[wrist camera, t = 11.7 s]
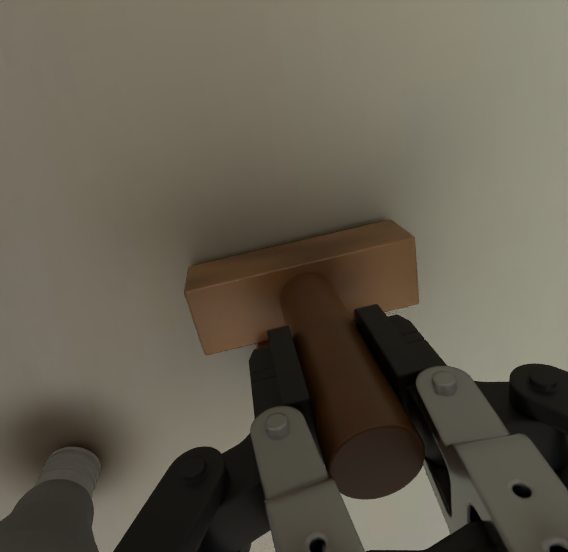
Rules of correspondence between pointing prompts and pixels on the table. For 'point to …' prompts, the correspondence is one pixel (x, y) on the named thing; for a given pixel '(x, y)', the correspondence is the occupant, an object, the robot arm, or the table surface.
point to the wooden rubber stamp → (325, 340)
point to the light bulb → (56, 507)
